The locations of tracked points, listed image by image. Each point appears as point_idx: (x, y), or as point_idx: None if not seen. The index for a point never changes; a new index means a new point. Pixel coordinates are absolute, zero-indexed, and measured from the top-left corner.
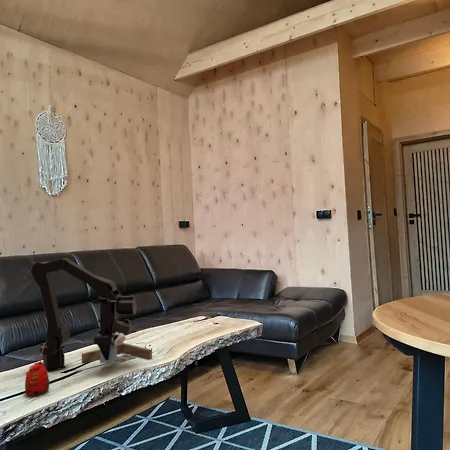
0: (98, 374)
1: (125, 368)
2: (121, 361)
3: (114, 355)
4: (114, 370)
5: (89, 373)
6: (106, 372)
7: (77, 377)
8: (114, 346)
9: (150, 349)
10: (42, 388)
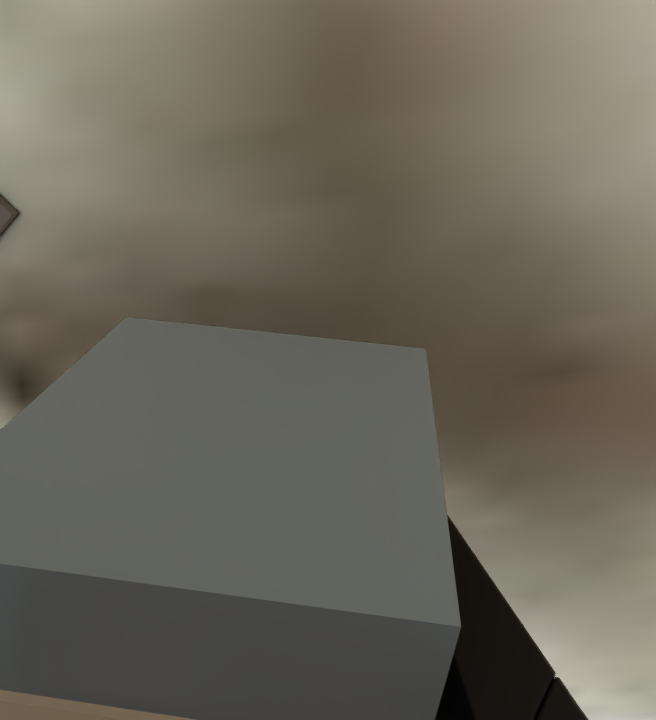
0: (614, 496)
1: (450, 75)
2: (7, 211)
3: (383, 427)
4: (504, 288)
5: (508, 589)
6: (565, 403)
7: (614, 678)
8: (102, 610)
9: None
10: None
